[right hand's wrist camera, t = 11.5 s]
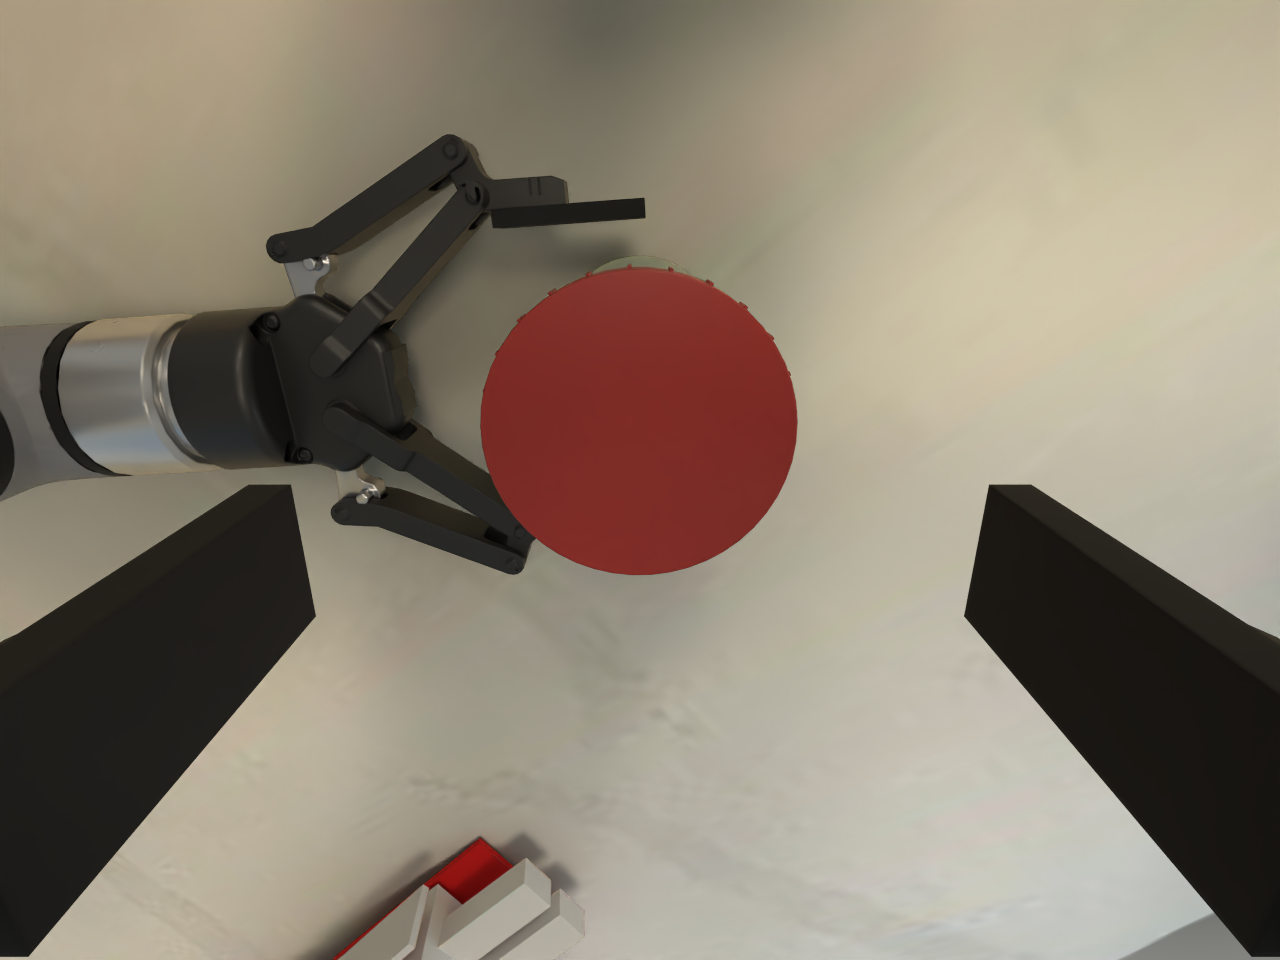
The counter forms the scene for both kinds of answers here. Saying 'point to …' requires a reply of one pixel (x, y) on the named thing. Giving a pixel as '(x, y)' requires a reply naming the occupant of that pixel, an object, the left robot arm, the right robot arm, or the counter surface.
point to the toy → (476, 915)
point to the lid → (638, 421)
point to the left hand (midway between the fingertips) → (655, 362)
